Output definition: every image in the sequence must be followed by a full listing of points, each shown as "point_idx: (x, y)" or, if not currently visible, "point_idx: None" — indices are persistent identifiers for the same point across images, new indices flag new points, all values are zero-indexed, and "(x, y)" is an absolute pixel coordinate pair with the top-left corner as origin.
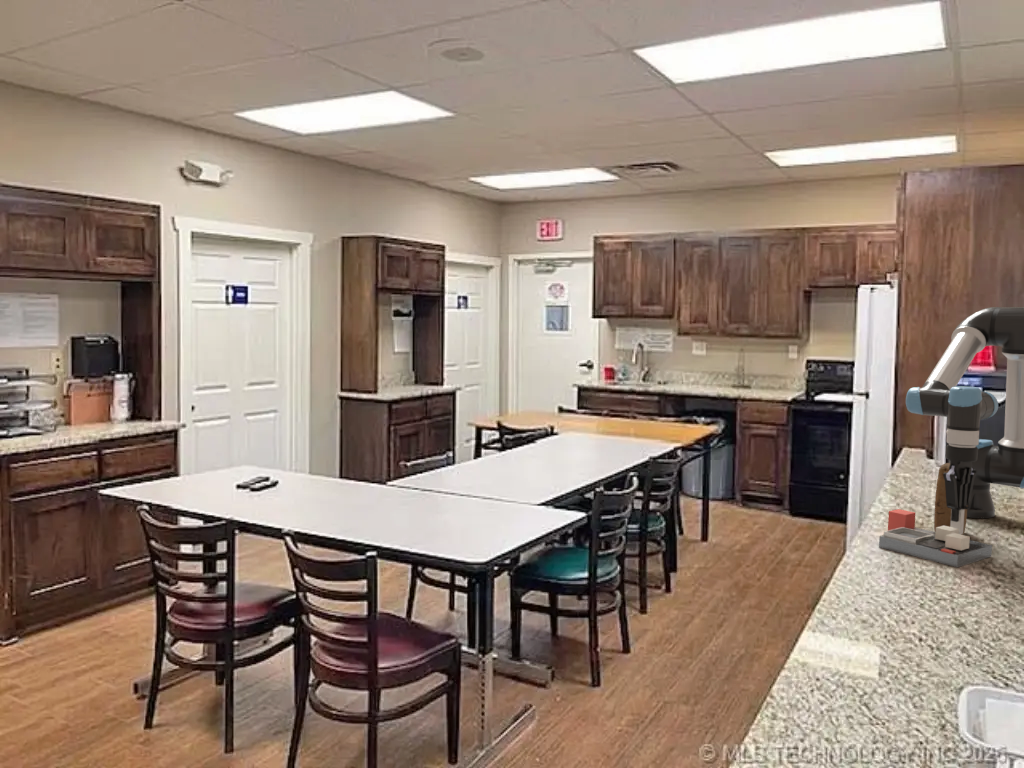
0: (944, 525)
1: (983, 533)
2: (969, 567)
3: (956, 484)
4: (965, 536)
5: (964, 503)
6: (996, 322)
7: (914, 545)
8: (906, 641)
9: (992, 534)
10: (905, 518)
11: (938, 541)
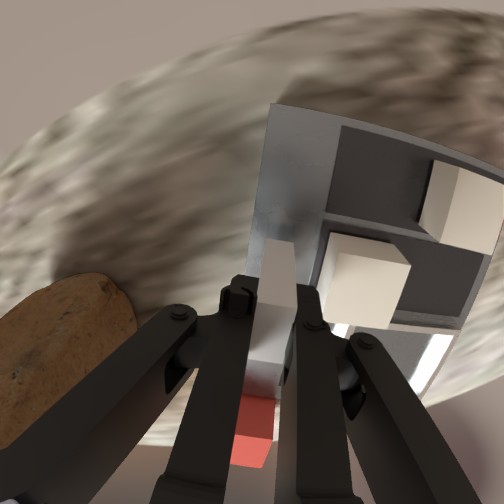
0: (125, 333)
1: (20, 239)
2: (470, 136)
3: (436, 500)
4: (470, 183)
5: (248, 332)
6: None
7: (465, 317)
8: None
9: (11, 218)
10: (272, 429)
11: None
